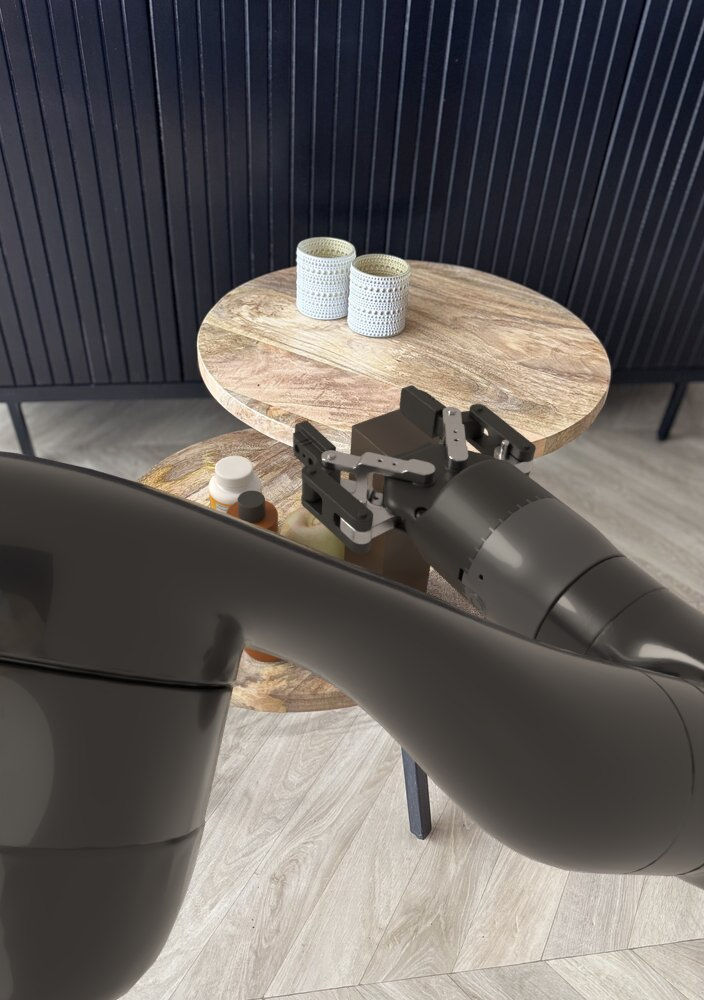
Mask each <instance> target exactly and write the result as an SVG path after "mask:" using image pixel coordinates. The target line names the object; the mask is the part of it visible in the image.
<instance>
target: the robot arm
mask: <svg viewBox="0 0 704 1000" xmlns="http://www.w3.org/2000/svg"><path fill="white" fill-rule="evenodd" d="M399 397H400V398H399V409H400V412H401V414H402V415H403V416H404V417H406V418H407V419H408V420H409V421H411V422H412V423H413V424H414V425H416V426H417V427H418V428H419V429H421V430H422V431H423V432H424V433H426V434H427V435H428V436H429V437H431V438H435V437H438V436H439V441H438V442H439V444H432V443H431V442H428V443H426V444H423V445H420V446H419V447H418V448H416V449H415V450H413V451H410V452H405V453H400V454H397V455H394V456H392V457H389V456H384V455H380V454H376V453H371V452H366V453H364V454H363V455H362V456H355V455H351V454H350V453H347V452H343V451H338V450H337V447H336V446H335V444H333V443H332V442H331V441H330V440H329V438H327V437H326V436H325V435H324V434H323V433H321V432H320V431H319V429H317V428H316V427H315V426H314V425H313V424H311V422H309V421H308V420H303V421H300V422H298V423H297V422H296V423H295V424H294V432H293V433H292V451H293V455H294V457H295V458H296V459H297V460H298V461H299V462H300V463H301V464H302V465H303V467H302V469H301V477H300V478H301V495H300V503H301V506H302V507H305V508H306V509H307V510H308V511H309V512H310V513H311V514H312V515H313V516H314V517H316V518H317V519H318V520H319V521H320V522H321V523H322V524H323V525H324V526H325V527H326V528H328V529H329V530H330V531H331V532H332V533H333V534H334V535H335V536H336V537H337V538H338V539H340V540H341V541H342V542H343V543H344V544H345V545H346V546H347V547H348V548H349V549H350V550H352V551H353V552H355V553H358V554H363V553H366V552H368V551H369V550H370V547H371V539H372V538H374V537H376V536H378V535H380V534H382V533H384V532H386V531H388V530H390V529H391V530H393V531H395V532H398V533H401V534H403V535H405V536H407V537H409V538H410V539H411V540H412V541H413V542H414V544H415V545H416V547H417V549H418V550H419V552H420V554H421V555H422V557H423V558H424V560H425V561H426V562H427V563H428V564H429V565H430V568H432V569H433V570H434V571H435V572H436V573H438V574H439V576H441V578H443V579H444V581H445V582H447V584H448V585H450V586H451V587H452V588H453V589H454V590H455V591H456V592H457V593H458V594H459V595H460V596H462V598H463V599H464V600H466V601H467V603H468V604H470V605H471V606H472V607H473V608H474V609H475V610H476V611H477V612H478V613H479V614H480V615H482V617H481V616H479V615H477V614H475V613H472V612H470V611H469V610H466V609H464V608H462V607H459V606H458V605H455V604H453V603H450V602H448V601H447V600H444V599H441V598H439V597H437V596H435V595H432V594H429V593H427V592H426V593H425V592H423V591H420V590H418V589H415V588H413V587H411V586H408V585H406V584H403V583H401V582H398V581H396V580H393V579H391V578H388V577H386V576H384V575H381V574H379V573H376V572H374V571H371V570H368V569H366V568H363V567H361V566H358V565H355V564H353V563H350V562H347V561H345V560H342V559H340V558H337V557H334V556H332V555H329V554H327V553H324V552H322V551H319V550H317V549H314V548H312V547H309V546H307V545H305V544H302V543H300V542H297V541H295V540H292V539H290V538H288V537H285V536H283V535H280V533H279V532H278V533H275V532H273V531H270V530H268V529H265V528H262V527H260V526H257V525H255V524H252V523H249V522H247V521H244V520H242V519H239V518H236V517H234V516H231V515H229V514H226V513H223V512H221V511H218V510H215V509H213V508H210V506H208V505H205V504H203V503H200V502H197V501H194V500H192V499H189V498H186V497H183V496H180V495H178V494H174V493H171V492H168V491H165V490H162V489H159V488H156V487H154V486H151V485H148V484H144V483H141V482H139V481H134V480H130V479H127V478H125V477H120V476H118V475H114V474H111V473H107V472H103V471H100V470H97V469H93V468H89V467H86V466H85V467H84V466H81V465H80V466H79V465H76V464H71V463H66V462H62V461H57V460H54V459H53V460H52V459H48V458H45V457H39V456H33V455H30V454H24V453H19V452H11V451H2V450H0V1000H119V999H121V998H122V997H123V996H125V995H127V994H128V993H129V992H130V991H131V989H132V988H134V986H135V985H136V984H137V983H138V982H139V981H140V979H142V978H143V976H144V975H145V974H146V973H147V972H148V971H149V970H150V969H151V968H152V966H153V965H154V964H155V963H156V961H157V960H158V958H159V956H160V954H161V953H162V951H163V950H164V948H165V946H166V944H167V942H168V940H169V938H170V935H171V933H172V930H173V928H174V926H175V924H176V922H177V919H178V917H179V914H180V912H181V909H182V906H183V904H184V901H185V898H186V896H187V893H188V891H189V888H190V885H191V882H192V878H193V875H194V871H195V867H196V864H197V859H198V856H199V851H200V848H201V844H202V839H203V836H204V830H205V828H206V827H205V826H206V817H207V816H206V815H207V811H208V806H209V802H210V797H211V792H212V788H213V783H214V779H215V774H216V769H217V764H218V760H219V757H220V751H221V747H222V742H223V737H224V734H225V733H224V732H225V728H226V724H227V720H228V714H229V710H230V705H231V702H232V701H231V700H232V696H233V691H234V686H233V685H232V684H234V683H235V682H236V681H237V678H238V674H239V669H240V664H241V662H242V661H241V660H242V656H243V653H244V651H245V649H244V648H248V649H252V650H256V651H259V652H262V653H265V654H268V655H271V656H275V657H277V658H280V660H283V661H285V662H288V663H290V664H292V665H294V666H297V667H299V668H300V669H303V670H305V671H307V672H309V673H311V674H313V676H316V677H318V678H319V679H321V680H323V681H324V682H326V683H328V684H330V685H331V686H333V687H334V688H335V689H337V690H338V691H340V692H341V693H342V694H344V695H345V696H346V697H348V698H349V699H350V700H351V701H352V702H354V703H355V704H356V705H357V706H358V707H359V708H360V709H361V710H363V711H364V712H365V713H366V714H367V715H368V716H369V717H371V718H372V719H373V720H374V721H375V722H376V723H377V724H378V725H380V727H382V729H383V730H385V731H386V732H387V734H388V735H390V737H391V738H392V739H393V740H394V741H395V742H396V743H397V744H398V745H399V746H400V747H401V748H402V749H403V750H404V751H405V752H406V753H407V754H408V755H409V756H410V757H411V759H412V760H413V761H415V763H416V764H417V765H418V767H420V768H421V770H422V771H423V772H424V773H425V774H426V776H428V778H429V779H430V780H431V781H432V782H433V783H434V784H435V785H436V787H438V788H439V790H440V791H442V793H444V794H445V795H446V796H447V797H448V799H450V801H451V802H453V803H454V805H455V806H456V807H457V808H458V809H459V810H461V812H462V813H463V814H464V815H465V816H466V817H467V818H468V819H469V820H470V821H471V822H472V823H474V824H475V825H476V826H477V827H478V828H480V829H481V831H483V832H484V833H485V834H487V835H488V836H489V837H492V838H493V839H494V840H495V841H497V842H499V843H500V844H502V845H503V846H505V847H506V848H508V849H510V850H511V851H513V852H514V853H516V854H518V855H521V856H522V857H524V858H527V859H528V860H531V861H534V862H537V863H540V864H544V865H547V866H550V867H553V868H556V869H560V870H563V871H567V872H574V873H581V874H593V875H597V874H598V875H616V876H617V875H619V876H621V875H622V876H646V877H647V876H649V877H650V876H651V877H675V878H677V879H678V880H681V881H683V882H685V883H687V884H690V885H692V886H693V887H695V888H698V889H700V890H702V891H704V612H702V611H701V610H699V609H698V608H696V607H695V606H693V605H692V604H690V603H688V601H686V600H684V599H683V598H681V597H680V596H679V595H678V594H676V593H675V592H673V591H672V590H671V589H670V588H668V587H667V586H666V585H664V584H663V583H662V582H661V581H659V580H658V579H657V578H655V577H654V576H652V575H651V574H650V573H649V572H648V571H646V570H644V568H642V567H641V566H639V565H638V564H637V563H636V562H634V561H633V560H632V559H630V558H628V556H626V555H625V554H624V553H623V552H622V551H620V549H618V548H617V547H616V546H615V545H614V544H613V543H612V542H611V541H610V540H609V539H608V538H607V536H605V535H604V534H603V533H602V532H601V531H600V530H599V528H597V527H595V525H593V524H592V523H591V522H590V521H588V520H587V519H586V518H584V517H583V516H582V515H580V514H579V513H578V512H576V511H575V510H574V509H572V508H571V507H570V506H568V505H567V504H566V503H565V502H564V501H562V500H561V499H560V498H558V497H557V496H555V495H554V494H552V493H551V492H550V491H549V490H547V489H546V488H544V487H543V486H542V485H541V484H539V483H538V482H537V481H535V480H534V479H533V478H531V477H530V474H531V469H532V466H533V462H534V457H535V453H536V450H537V448H536V445H535V444H534V443H533V442H531V440H529V439H528V438H526V436H524V435H523V434H522V433H520V432H519V431H518V430H516V428H514V427H513V426H511V425H510V424H509V423H508V422H506V421H505V420H504V419H503V418H502V417H500V416H499V415H497V413H495V412H493V410H491V409H490V408H489V407H488V406H486V405H484V404H481V403H473V404H471V405H470V406H469V410H465V411H464V410H463V411H461V409H459V408H458V407H455V406H446V405H445V404H443V403H442V402H441V401H439V400H438V399H436V398H435V397H434V396H432V395H431V394H430V393H428V392H427V391H425V390H422V389H419V388H417V387H416V386H415V385H414V384H412V385H408V386H405V387H402V388H401V390H400V396H399ZM485 430H486V432H487V434H486V433H485ZM467 443H468V444H469V445H471V447H473V448H474V449H475V450H477V451H478V452H476V451H472V450H469V449H468V446H467ZM342 472H344V473H348V474H349V473H352V474H354V475H355V476H356V481H352V480H349V478H343V477H342ZM373 473H377V474H381V475H384V477H383V494H382V493H378V492H376V491H375V490H374V489H373V487H372V482H373Z"/></svg>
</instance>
